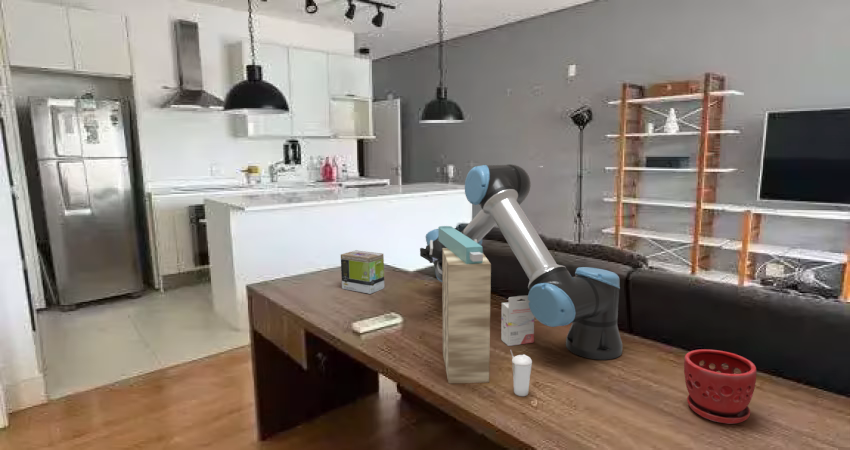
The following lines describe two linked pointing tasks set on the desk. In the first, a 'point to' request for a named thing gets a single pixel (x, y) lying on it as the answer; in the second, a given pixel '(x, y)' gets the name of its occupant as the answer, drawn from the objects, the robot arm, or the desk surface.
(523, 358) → the milkshake
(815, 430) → the desk surface
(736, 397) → the plant pot
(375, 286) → the tea box
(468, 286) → the stand
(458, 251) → the teal rounded-top bar
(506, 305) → the ink cartridge box
